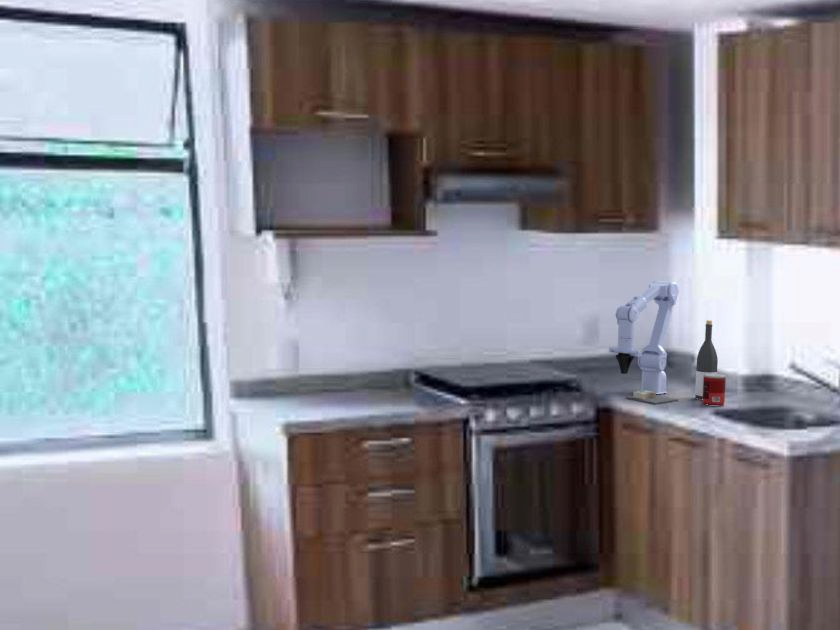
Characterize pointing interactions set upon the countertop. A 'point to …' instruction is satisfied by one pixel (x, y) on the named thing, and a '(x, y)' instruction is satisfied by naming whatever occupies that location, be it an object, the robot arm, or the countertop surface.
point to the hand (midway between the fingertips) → (624, 373)
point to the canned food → (714, 389)
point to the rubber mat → (654, 399)
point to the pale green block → (644, 394)
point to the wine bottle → (705, 360)
